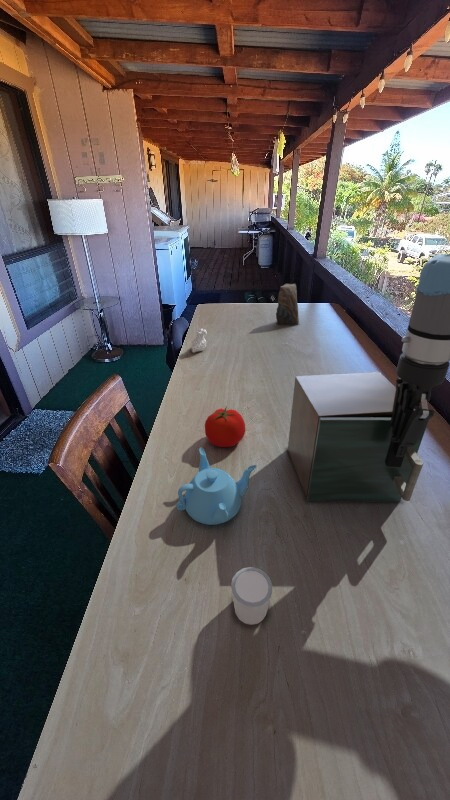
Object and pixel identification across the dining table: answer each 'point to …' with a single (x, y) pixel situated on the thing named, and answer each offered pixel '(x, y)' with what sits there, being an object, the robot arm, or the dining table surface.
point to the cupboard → (332, 409)
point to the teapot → (213, 493)
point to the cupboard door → (360, 462)
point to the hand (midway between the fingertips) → (392, 464)
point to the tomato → (224, 427)
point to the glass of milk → (251, 594)
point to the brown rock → (287, 305)
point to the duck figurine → (199, 341)
